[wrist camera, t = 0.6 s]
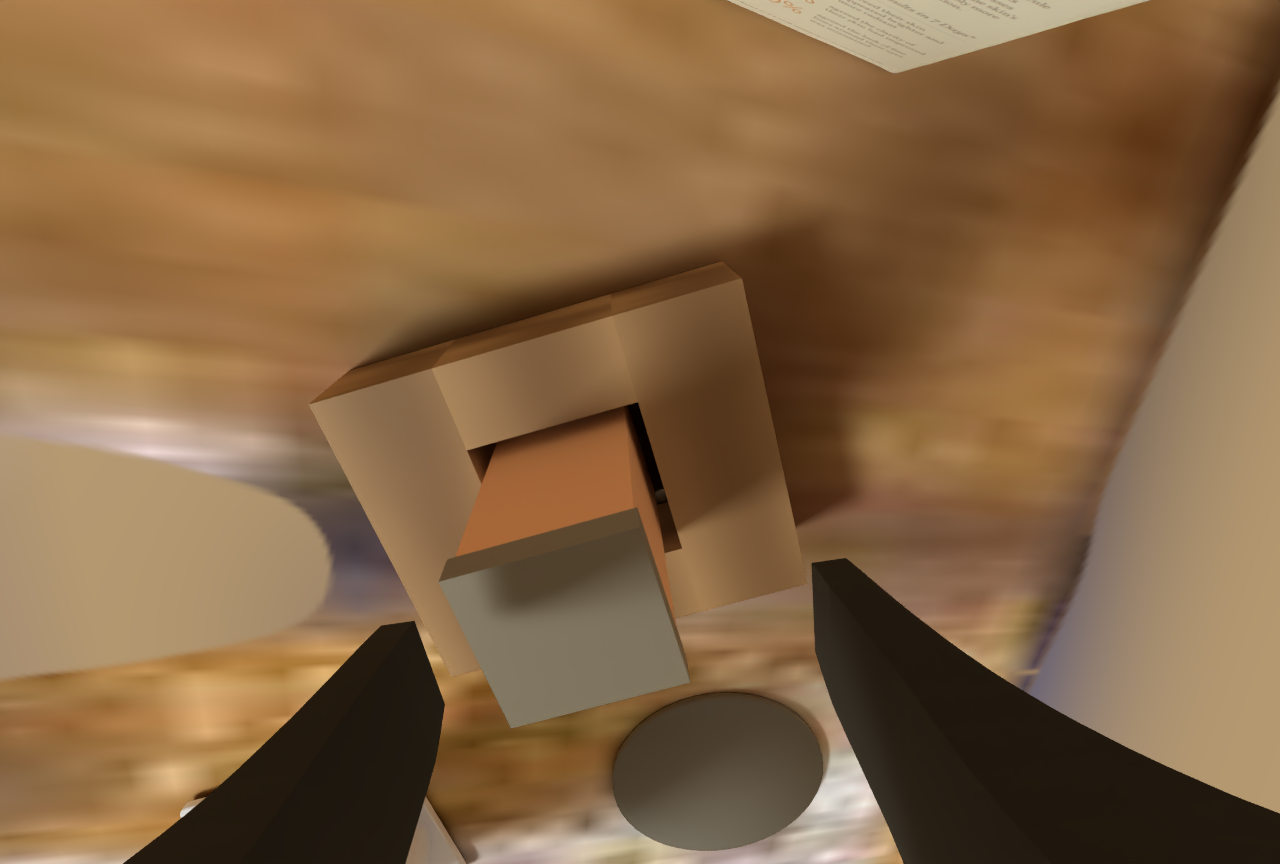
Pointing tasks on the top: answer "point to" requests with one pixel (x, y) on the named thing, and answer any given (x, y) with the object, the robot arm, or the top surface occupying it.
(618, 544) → the plug
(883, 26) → the small box
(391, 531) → the tan square socket
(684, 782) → the coaster
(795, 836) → the top surface
